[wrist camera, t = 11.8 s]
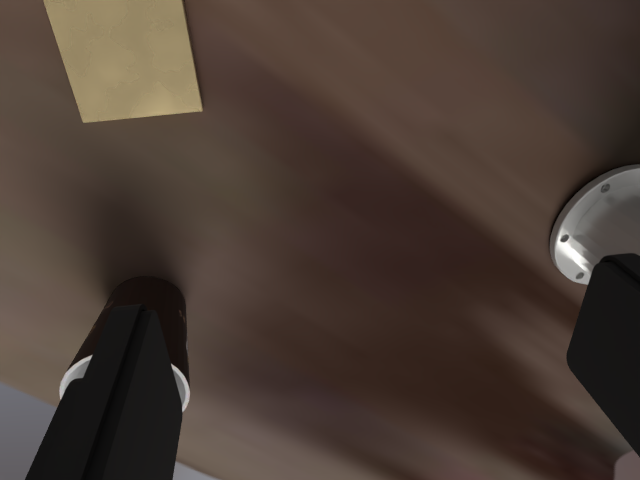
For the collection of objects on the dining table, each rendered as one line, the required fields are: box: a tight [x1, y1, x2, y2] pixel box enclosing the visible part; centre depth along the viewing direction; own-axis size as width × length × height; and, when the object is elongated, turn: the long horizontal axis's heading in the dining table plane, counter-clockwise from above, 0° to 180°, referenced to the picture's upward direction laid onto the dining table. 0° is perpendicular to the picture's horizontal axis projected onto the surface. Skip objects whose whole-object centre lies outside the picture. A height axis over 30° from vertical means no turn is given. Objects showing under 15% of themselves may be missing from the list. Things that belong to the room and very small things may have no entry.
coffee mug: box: [59, 277, 190, 413], centre depth 37 cm, size 12×9×10 cm
